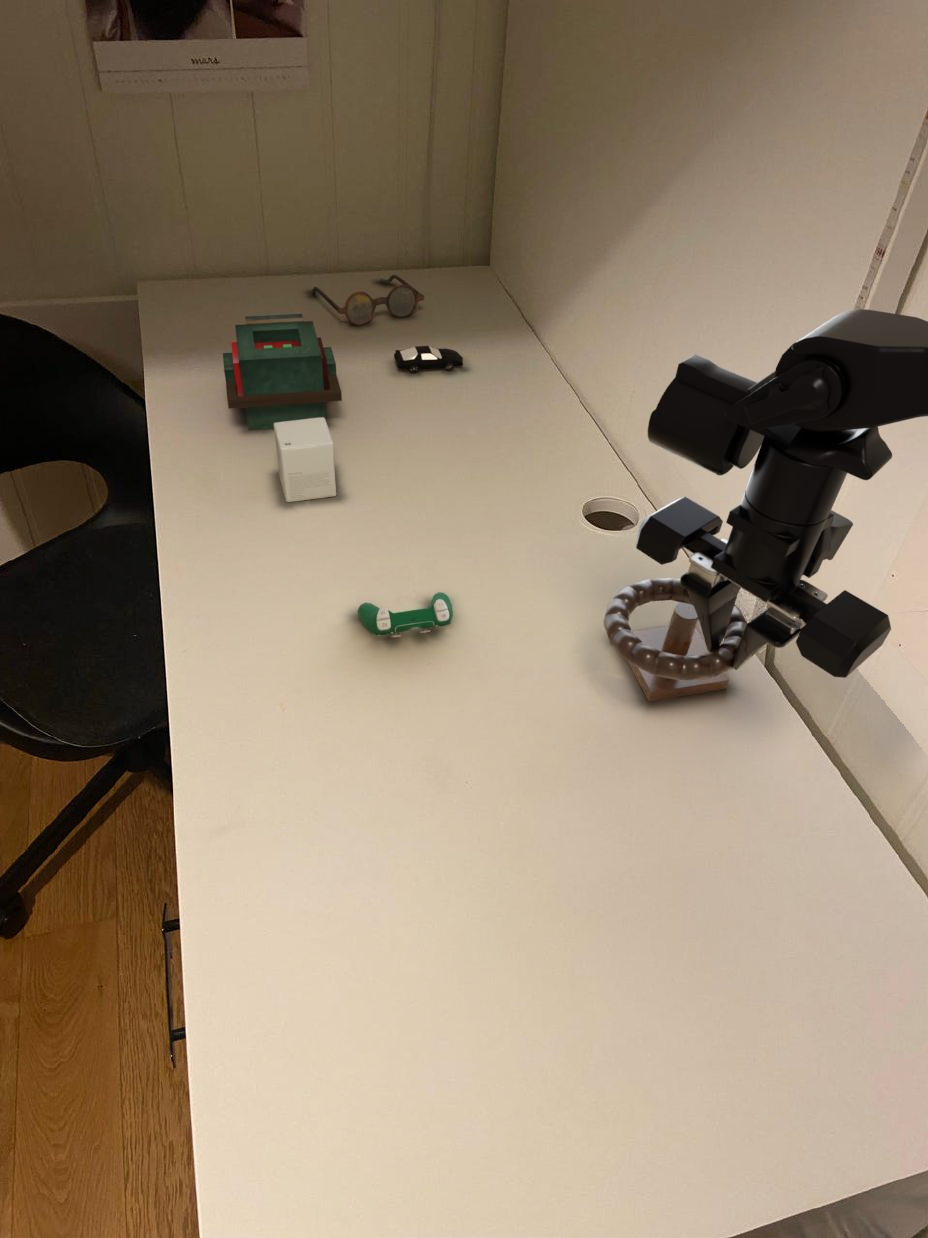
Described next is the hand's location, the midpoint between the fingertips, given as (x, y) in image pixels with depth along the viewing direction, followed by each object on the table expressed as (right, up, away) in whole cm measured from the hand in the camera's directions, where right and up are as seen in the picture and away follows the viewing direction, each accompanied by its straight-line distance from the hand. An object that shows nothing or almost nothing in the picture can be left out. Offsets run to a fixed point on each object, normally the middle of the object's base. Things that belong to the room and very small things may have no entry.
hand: (725, 658), depth 68 cm
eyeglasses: (-38, +55, +71) cm, 97 cm away
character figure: (-46, +34, +47) cm, 74 cm away
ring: (-3, +3, +3) cm, 5 cm away
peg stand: (-1, -1, +13) cm, 13 cm away
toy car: (-26, +40, +56) cm, 74 cm away
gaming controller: (-27, +2, +15) cm, 31 cm away
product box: (-40, +19, +32) cm, 55 cm away
